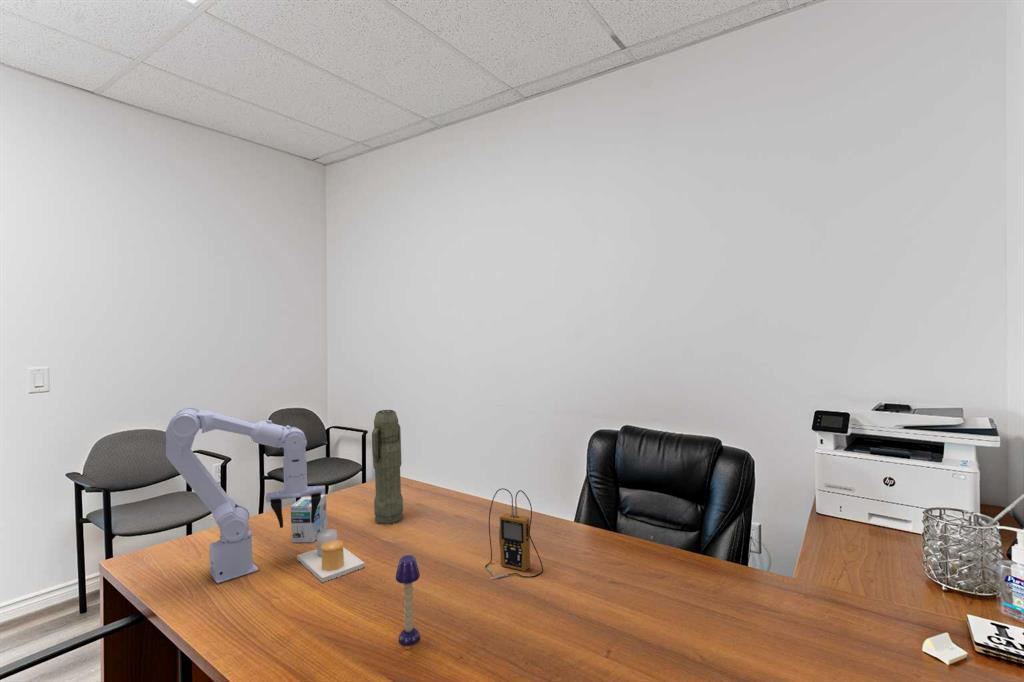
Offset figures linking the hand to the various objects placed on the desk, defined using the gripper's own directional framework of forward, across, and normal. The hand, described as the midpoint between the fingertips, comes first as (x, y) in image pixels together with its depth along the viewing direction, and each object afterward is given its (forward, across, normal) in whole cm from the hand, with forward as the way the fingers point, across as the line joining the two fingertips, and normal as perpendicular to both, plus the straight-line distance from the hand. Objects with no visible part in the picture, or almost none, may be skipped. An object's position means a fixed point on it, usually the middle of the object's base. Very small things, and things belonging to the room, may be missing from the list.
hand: (297, 524), depth 137 cm
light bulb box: (+10, +3, +15) cm, 18 cm away
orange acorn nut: (+8, +8, -11) cm, 16 cm away
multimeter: (+10, +49, -31) cm, 59 cm away
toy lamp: (+10, +21, -48) cm, 53 cm away
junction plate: (+9, +8, -7) cm, 14 cm away
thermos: (+10, +27, +17) cm, 33 cm away
